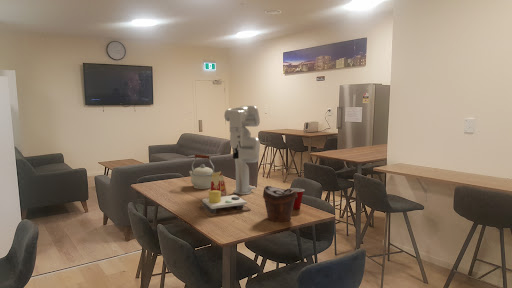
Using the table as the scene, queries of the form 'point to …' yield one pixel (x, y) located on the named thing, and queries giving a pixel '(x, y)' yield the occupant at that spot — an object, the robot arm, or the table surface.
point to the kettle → (201, 174)
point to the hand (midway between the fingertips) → (235, 158)
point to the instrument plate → (222, 200)
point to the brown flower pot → (279, 203)
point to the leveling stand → (223, 210)
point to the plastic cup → (298, 201)
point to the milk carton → (218, 183)
